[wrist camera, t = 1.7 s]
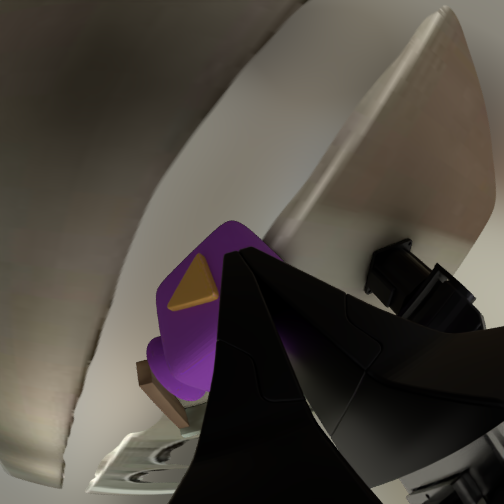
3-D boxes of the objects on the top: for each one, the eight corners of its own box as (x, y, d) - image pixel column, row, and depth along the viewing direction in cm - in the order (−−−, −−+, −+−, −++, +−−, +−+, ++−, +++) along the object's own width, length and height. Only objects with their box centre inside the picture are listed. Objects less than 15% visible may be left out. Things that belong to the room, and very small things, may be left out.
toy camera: (124, 322, 23) (134, 423, 16) (206, 196, 20) (257, 288, 12) (217, 348, 30) (248, 428, 22) (301, 254, 26) (365, 331, 18)
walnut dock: (310, 307, 31) (328, 332, 28) (303, 373, 40) (315, 393, 37) (136, 362, 27) (140, 394, 24) (178, 414, 36) (184, 437, 33)
